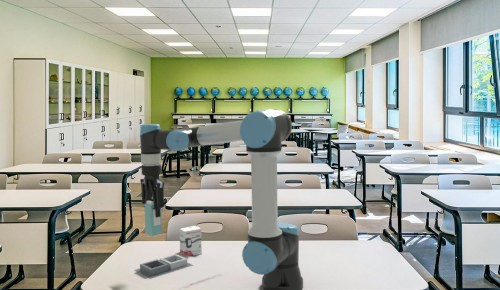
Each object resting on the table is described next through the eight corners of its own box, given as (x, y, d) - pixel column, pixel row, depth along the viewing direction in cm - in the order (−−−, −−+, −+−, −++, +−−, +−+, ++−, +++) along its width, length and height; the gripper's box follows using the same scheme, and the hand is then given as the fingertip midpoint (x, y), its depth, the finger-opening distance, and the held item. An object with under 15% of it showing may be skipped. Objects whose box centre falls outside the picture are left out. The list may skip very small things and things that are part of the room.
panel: (193, 268, 188) (193, 259, 187) (150, 281, 174) (150, 272, 174) (176, 260, 196) (176, 252, 196) (134, 273, 183) (133, 264, 182)
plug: (161, 233, 180) (160, 200, 179) (151, 236, 177) (150, 202, 176) (155, 231, 183) (154, 199, 182) (145, 233, 180) (144, 201, 179)
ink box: (184, 257, 200) (183, 231, 198) (179, 254, 204) (178, 228, 202) (202, 254, 204) (201, 228, 203) (196, 250, 208) (196, 225, 207)
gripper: (172, 165, 174) (174, 226, 176) (147, 161, 186) (149, 217, 189) (155, 167, 169) (157, 230, 171) (131, 163, 181) (133, 221, 184)
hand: (153, 223), depth 180 cm, fingers closed on plug, 4 cm apart
